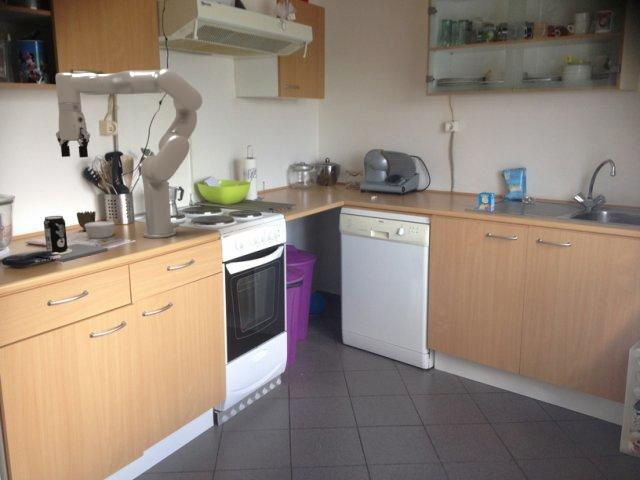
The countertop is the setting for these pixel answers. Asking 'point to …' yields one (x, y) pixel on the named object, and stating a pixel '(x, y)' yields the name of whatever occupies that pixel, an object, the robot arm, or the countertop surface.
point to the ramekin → (100, 229)
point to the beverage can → (55, 234)
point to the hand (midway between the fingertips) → (74, 156)
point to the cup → (85, 218)
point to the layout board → (79, 252)
